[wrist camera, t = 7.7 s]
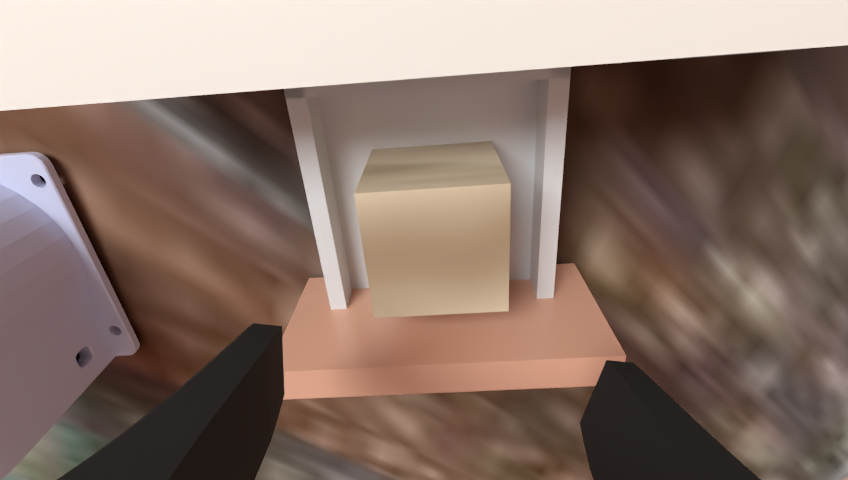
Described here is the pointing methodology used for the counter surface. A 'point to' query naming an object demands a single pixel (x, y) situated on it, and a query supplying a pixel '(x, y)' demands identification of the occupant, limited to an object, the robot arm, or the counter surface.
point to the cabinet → (365, 41)
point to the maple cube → (435, 229)
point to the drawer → (529, 244)
